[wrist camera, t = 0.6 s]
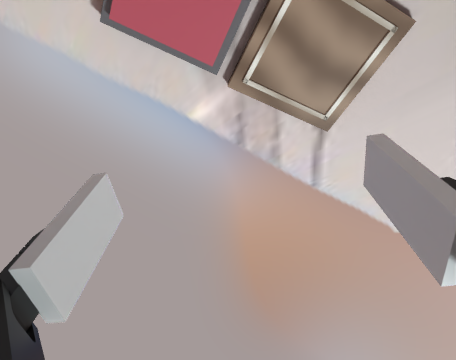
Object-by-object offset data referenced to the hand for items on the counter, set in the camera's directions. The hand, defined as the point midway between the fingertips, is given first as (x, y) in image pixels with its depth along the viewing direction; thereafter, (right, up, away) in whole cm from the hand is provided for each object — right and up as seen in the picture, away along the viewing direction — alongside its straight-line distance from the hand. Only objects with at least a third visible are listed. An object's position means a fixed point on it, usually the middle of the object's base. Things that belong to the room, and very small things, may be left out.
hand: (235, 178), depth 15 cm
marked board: (+10, +16, +21) cm, 28 cm away
